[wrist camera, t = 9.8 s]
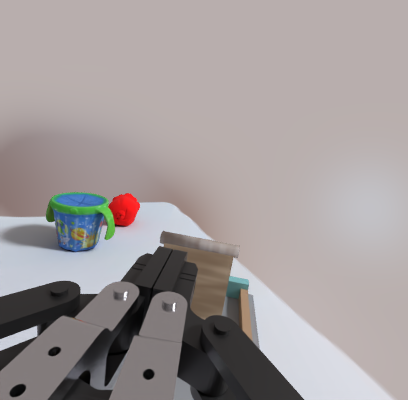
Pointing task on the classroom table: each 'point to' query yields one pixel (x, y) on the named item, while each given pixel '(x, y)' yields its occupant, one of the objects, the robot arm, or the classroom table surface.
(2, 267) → the classroom table surface
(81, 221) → the snack cup
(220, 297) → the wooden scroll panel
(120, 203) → the flower
